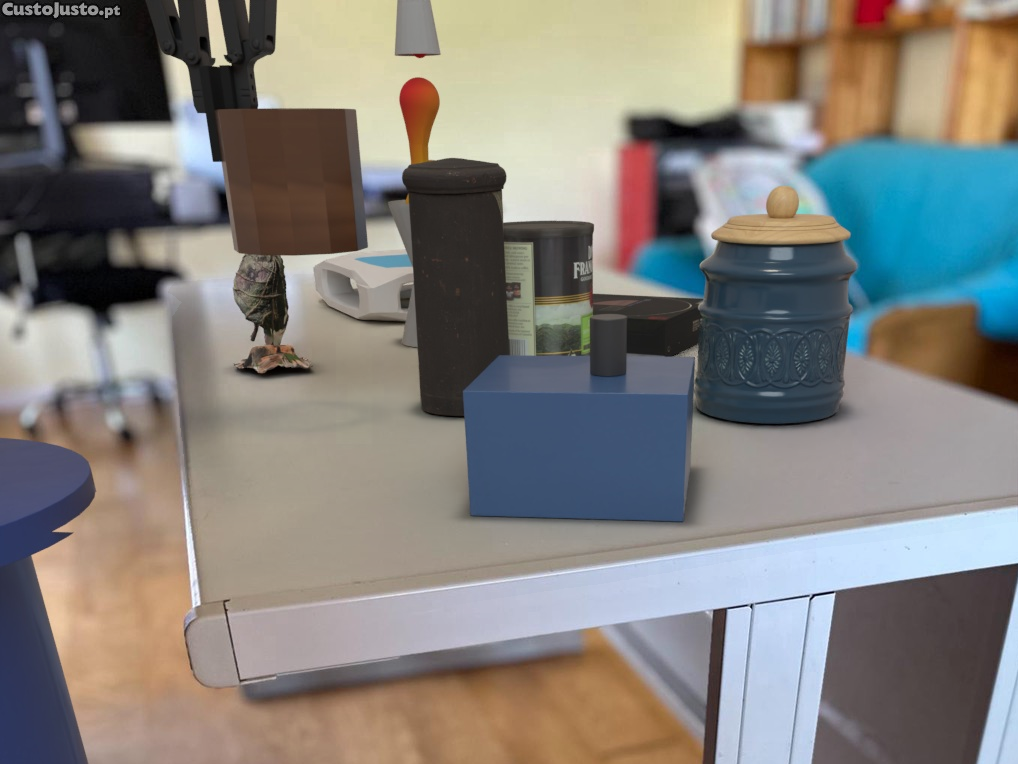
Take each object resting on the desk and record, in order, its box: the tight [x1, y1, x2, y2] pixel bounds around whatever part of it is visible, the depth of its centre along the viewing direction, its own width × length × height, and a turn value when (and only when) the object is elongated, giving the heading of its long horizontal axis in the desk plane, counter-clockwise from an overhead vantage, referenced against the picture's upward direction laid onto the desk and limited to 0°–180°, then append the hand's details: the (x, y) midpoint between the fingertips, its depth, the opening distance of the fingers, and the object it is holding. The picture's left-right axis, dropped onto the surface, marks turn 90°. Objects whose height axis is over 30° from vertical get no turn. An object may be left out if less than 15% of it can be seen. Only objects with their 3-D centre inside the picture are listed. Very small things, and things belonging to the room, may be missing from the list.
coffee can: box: [503, 220, 595, 356], centre depth 106 cm, size 10×10×14 cm
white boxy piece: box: [312, 248, 414, 323], centre depth 153 cm, size 21×28×6 cm
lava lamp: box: [387, 0, 442, 348], centre depth 121 cm, size 9×9×35 cm
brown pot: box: [214, 107, 369, 257], centre depth 88 cm, size 11×11×10 cm
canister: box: [694, 185, 859, 425], centre depth 92 cm, size 13×13×18 cm
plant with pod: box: [232, 254, 314, 374], centre depth 112 cm, size 8×11×20 cm
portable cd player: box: [593, 293, 704, 357], centre depth 126 cm, size 16×17×4 cm
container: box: [401, 157, 510, 417], centre depth 94 cm, size 9×9×20 cm
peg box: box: [463, 314, 696, 523], centre depth 73 cm, size 14×12×12 cm
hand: (234, 160), depth 88 cm, fingers closed on brown pot
